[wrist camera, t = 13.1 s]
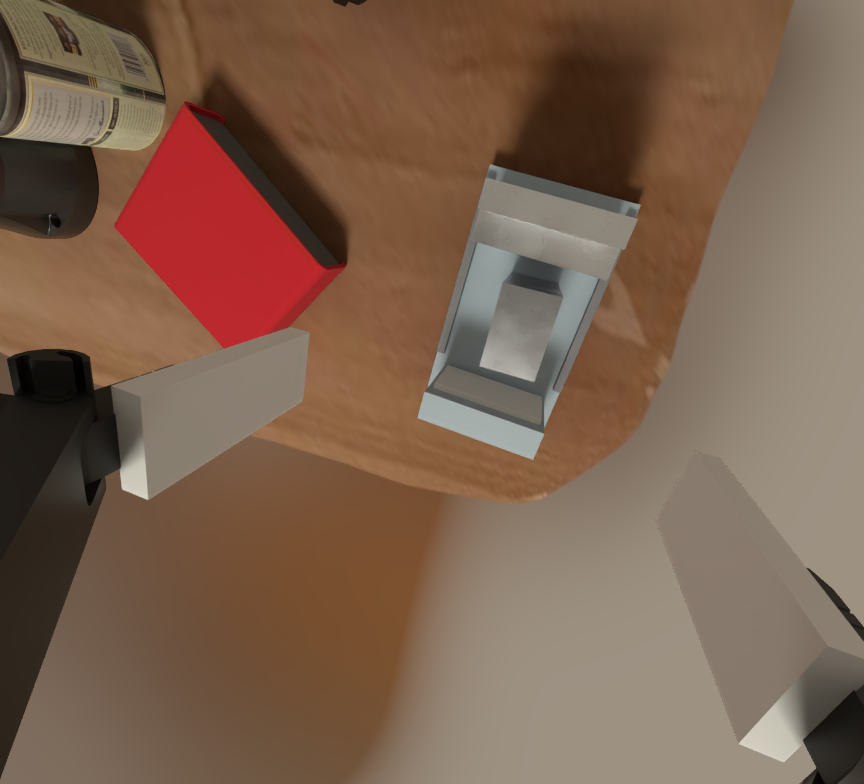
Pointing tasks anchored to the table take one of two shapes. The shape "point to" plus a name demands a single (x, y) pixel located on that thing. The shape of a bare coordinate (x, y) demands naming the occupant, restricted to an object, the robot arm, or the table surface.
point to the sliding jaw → (551, 228)
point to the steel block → (521, 325)
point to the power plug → (344, 0)
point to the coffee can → (75, 79)
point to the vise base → (470, 323)
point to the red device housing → (223, 233)
